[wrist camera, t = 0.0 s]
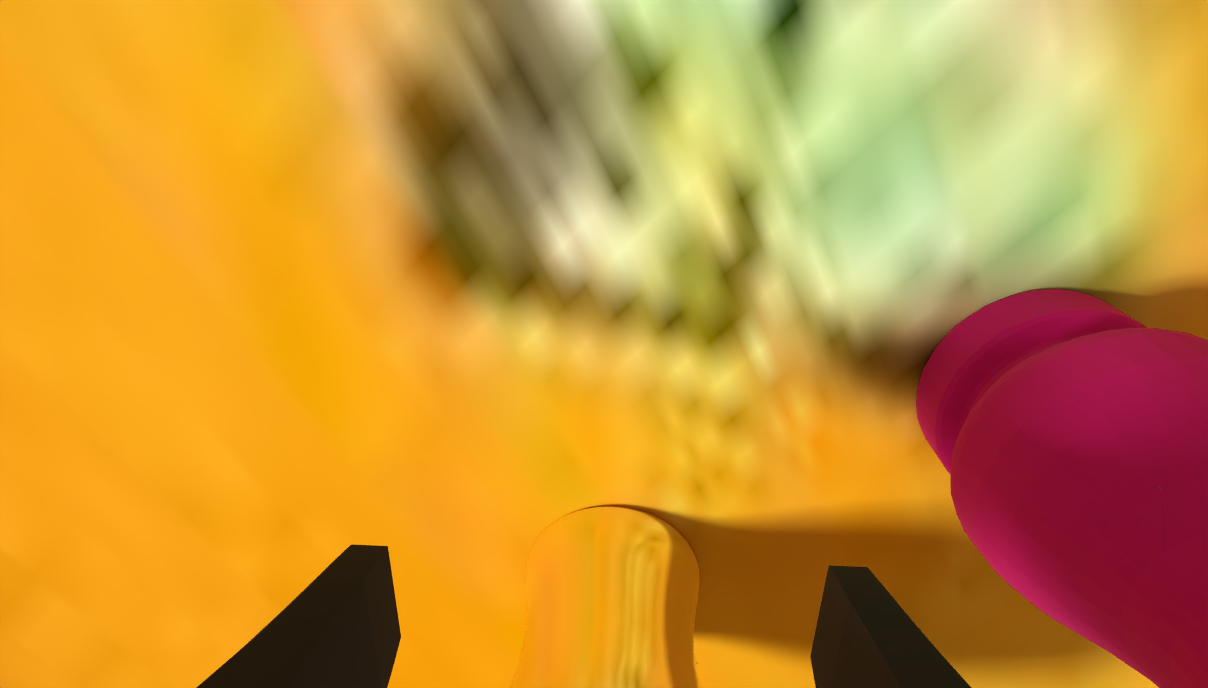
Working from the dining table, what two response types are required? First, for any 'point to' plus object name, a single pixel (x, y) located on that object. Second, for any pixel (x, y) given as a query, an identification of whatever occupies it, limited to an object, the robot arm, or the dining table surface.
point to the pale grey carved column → (609, 604)
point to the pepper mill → (1083, 469)
